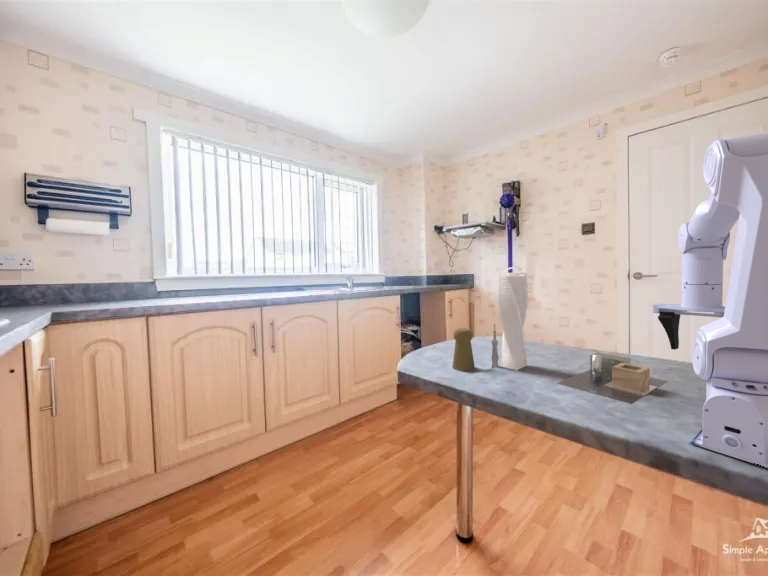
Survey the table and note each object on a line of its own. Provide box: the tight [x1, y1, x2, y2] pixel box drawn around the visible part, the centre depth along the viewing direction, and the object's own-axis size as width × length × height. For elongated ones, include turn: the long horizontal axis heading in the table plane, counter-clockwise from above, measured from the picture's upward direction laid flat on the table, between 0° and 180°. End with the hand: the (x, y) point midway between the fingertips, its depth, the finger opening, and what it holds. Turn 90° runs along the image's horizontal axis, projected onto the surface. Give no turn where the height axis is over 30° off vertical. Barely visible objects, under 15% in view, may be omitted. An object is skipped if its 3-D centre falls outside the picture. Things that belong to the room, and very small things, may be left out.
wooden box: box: [612, 363, 651, 392], centre depth 68 cm, size 5×5×4 cm
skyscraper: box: [490, 266, 529, 371], centre depth 84 cm, size 8×8×28 cm
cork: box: [452, 327, 476, 372], centre depth 87 cm, size 6×6×11 cm
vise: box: [556, 352, 668, 405], centre depth 71 cm, size 21×14×6 cm, turn 123°
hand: (700, 352), depth 63 cm, fingers open, 7 cm apart
